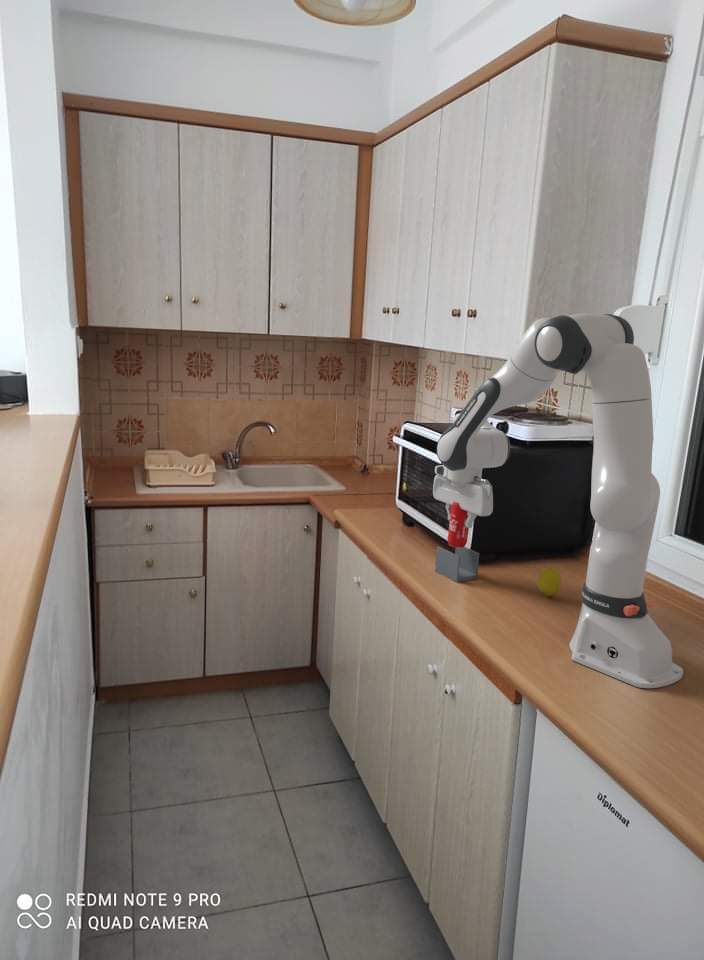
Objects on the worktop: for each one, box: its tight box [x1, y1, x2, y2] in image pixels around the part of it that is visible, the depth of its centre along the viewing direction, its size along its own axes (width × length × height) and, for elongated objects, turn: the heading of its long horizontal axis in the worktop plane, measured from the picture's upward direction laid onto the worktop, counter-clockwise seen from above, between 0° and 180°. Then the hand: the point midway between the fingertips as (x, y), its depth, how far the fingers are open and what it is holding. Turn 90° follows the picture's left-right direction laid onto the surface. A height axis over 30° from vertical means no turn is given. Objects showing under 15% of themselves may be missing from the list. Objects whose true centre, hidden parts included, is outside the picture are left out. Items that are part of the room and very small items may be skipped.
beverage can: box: [446, 501, 470, 548], centre depth 189 cm, size 5×5×12 cm
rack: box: [434, 546, 480, 583], centre depth 191 cm, size 9×7×7 cm
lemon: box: [537, 565, 562, 597], centre depth 179 cm, size 6×6×8 cm
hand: (459, 523), depth 189 cm, fingers closed on beverage can, 5 cm apart
